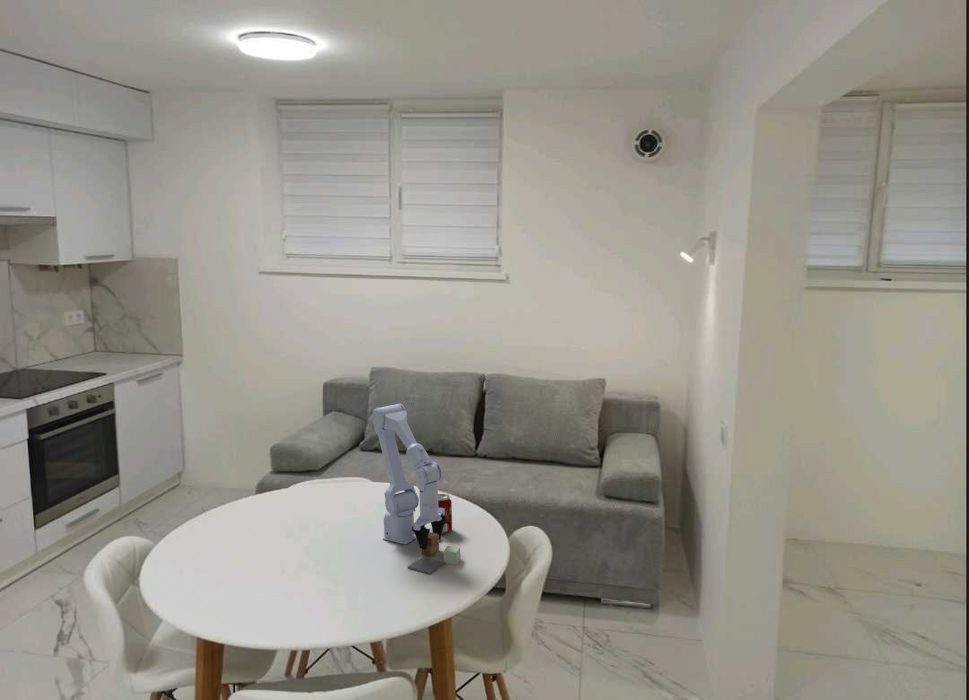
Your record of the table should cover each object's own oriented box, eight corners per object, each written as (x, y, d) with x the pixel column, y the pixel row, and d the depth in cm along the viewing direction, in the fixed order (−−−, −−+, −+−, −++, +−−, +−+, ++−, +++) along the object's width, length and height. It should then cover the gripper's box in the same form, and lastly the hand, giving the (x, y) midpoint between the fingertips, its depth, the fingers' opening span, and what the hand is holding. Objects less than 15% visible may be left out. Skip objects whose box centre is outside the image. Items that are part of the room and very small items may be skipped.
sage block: (443, 563, 225) (443, 551, 224) (447, 557, 229) (447, 545, 228) (456, 565, 224) (456, 552, 223) (460, 559, 228) (460, 547, 227)
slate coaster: (407, 568, 222) (407, 566, 222) (423, 558, 228) (422, 556, 228) (430, 574, 218) (430, 572, 218) (444, 563, 225) (444, 561, 224)
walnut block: (421, 554, 231) (420, 536, 230) (428, 549, 235) (428, 531, 234) (432, 557, 229) (431, 538, 228) (439, 552, 233) (438, 534, 232)
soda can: (449, 535, 245) (448, 501, 243) (429, 534, 246) (428, 499, 244) (454, 527, 251) (453, 493, 249) (435, 526, 252) (434, 492, 250)
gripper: (426, 512, 221) (427, 555, 223) (452, 497, 233) (453, 537, 236) (407, 508, 224) (408, 550, 227) (433, 493, 237) (434, 533, 239)
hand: (430, 544), depth 231 cm, fingers open, 7 cm apart
